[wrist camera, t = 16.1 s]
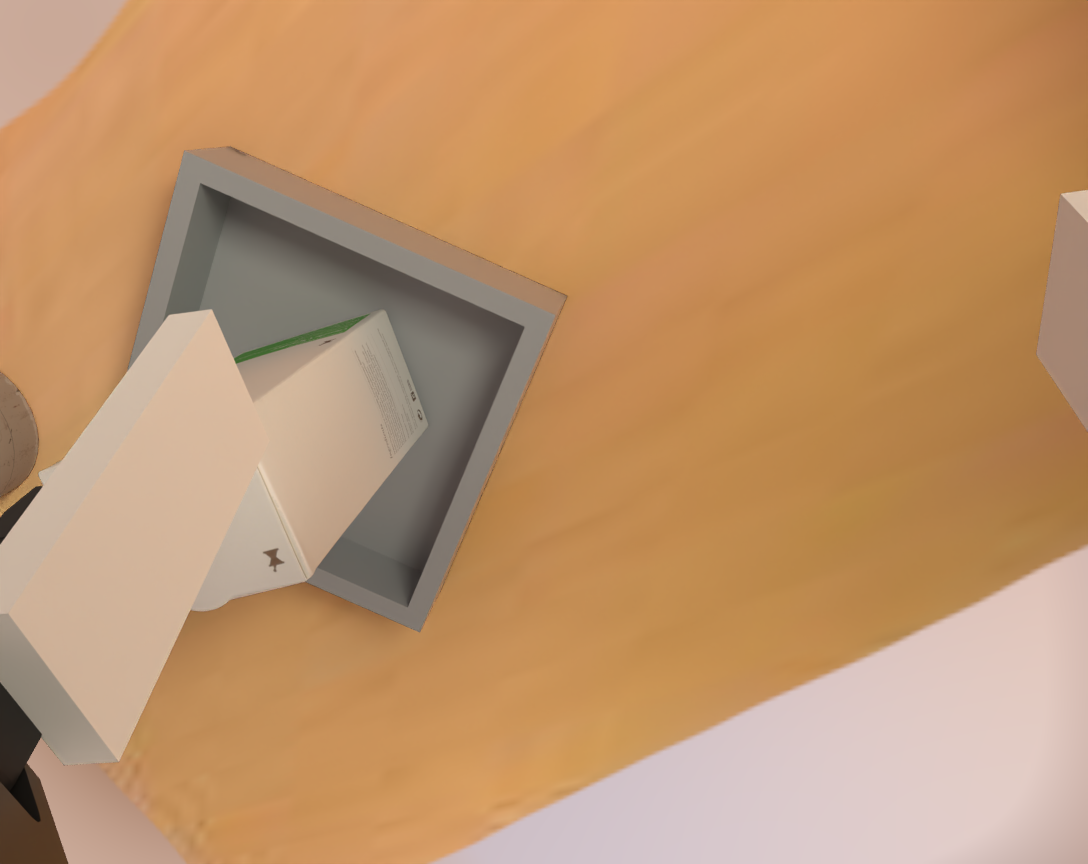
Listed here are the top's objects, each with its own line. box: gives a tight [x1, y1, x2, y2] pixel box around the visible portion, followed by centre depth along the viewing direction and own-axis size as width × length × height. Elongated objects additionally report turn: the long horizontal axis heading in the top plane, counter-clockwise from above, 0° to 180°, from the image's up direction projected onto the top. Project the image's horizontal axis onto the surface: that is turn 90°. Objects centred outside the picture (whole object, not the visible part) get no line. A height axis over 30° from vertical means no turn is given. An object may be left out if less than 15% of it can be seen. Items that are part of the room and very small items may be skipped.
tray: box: [127, 147, 567, 632], centre depth 45 cm, size 17×17×4 cm
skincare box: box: [38, 309, 428, 611], centre depth 39 cm, size 8×7×16 cm
